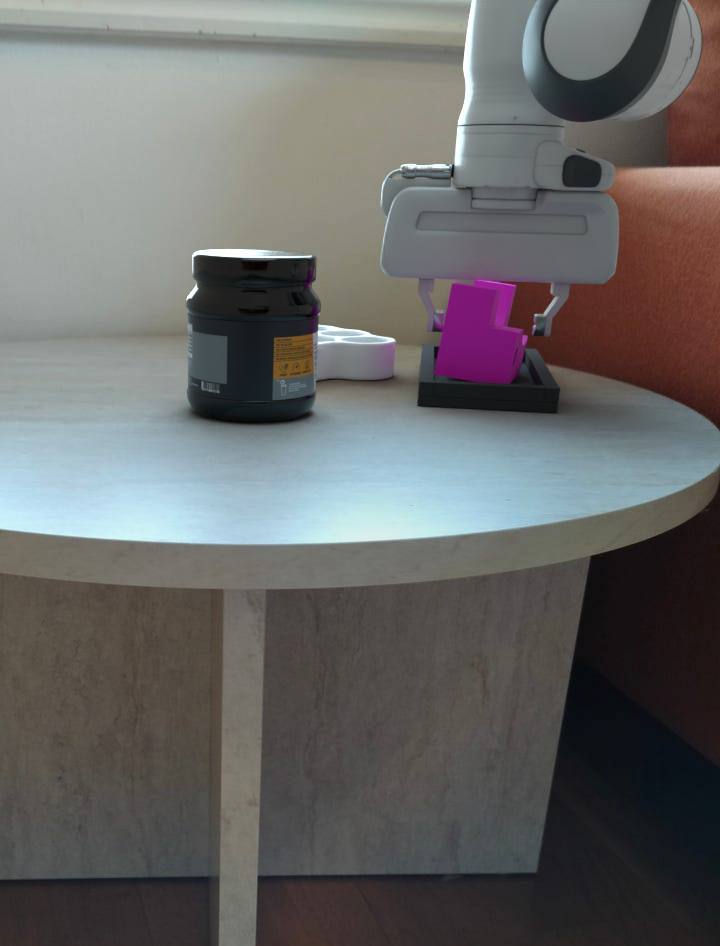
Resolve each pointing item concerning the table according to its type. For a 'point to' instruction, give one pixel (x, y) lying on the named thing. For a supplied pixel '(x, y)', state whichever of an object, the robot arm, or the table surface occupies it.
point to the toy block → (480, 334)
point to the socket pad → (489, 387)
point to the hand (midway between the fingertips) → (487, 333)
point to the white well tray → (353, 355)
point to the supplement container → (252, 334)
